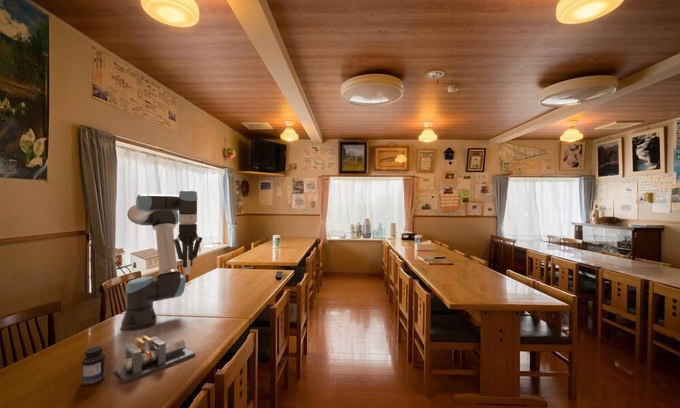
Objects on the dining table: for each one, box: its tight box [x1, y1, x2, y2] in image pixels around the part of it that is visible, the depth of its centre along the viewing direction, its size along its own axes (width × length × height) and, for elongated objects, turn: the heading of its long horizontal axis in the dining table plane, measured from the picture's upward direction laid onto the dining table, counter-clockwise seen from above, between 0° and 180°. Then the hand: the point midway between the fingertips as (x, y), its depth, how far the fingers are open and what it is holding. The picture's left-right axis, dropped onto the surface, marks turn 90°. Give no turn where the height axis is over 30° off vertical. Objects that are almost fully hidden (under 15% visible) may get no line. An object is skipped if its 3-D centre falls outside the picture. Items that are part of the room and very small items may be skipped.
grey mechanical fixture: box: [113, 335, 196, 385], centre depth 114 cm, size 12×24×9 cm, turn 143°
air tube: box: [123, 339, 186, 371], centre depth 114 cm, size 20×4×4 cm, turn 143°
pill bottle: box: [81, 345, 106, 386], centre depth 102 cm, size 6×6×11 cm
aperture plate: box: [134, 335, 151, 354], centre depth 112 cm, size 7×3×9 cm, turn 53°
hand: (187, 274), depth 137 cm, fingers closed
